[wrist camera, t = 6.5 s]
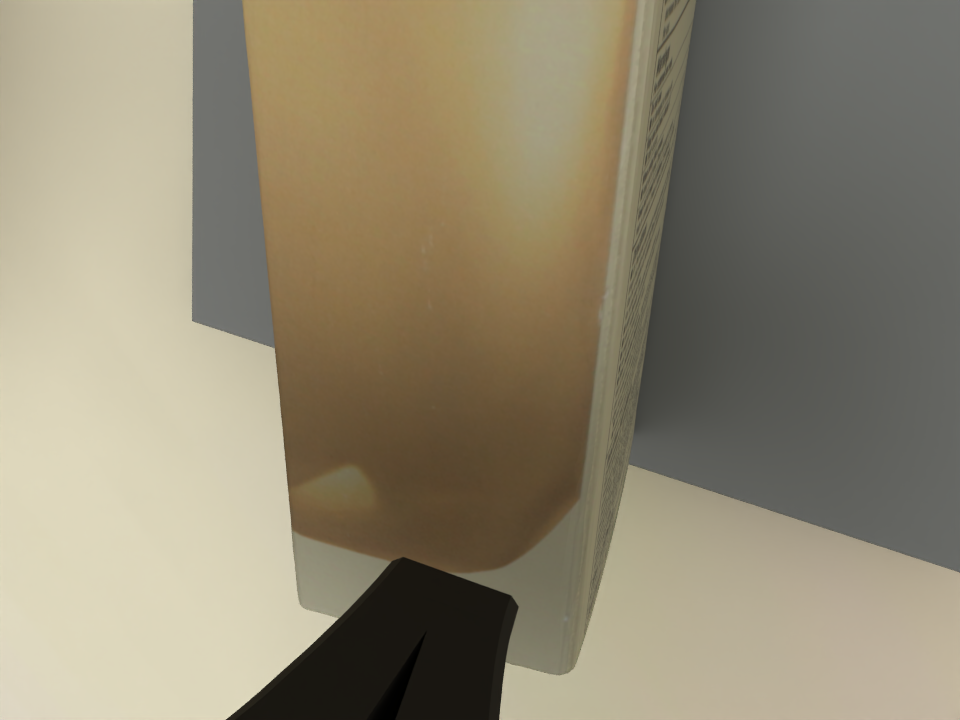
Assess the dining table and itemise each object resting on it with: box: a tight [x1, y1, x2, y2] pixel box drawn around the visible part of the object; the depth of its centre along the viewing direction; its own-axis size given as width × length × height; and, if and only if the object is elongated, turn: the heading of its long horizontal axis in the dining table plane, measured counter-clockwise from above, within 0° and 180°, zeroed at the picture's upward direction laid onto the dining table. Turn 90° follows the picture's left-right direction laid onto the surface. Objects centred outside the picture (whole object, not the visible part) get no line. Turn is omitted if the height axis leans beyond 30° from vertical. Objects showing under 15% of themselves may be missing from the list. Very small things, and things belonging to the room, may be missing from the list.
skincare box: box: [242, 0, 696, 675], centre depth 13 cm, size 6×4×12 cm
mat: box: [192, 0, 960, 572], centre depth 14 cm, size 16×16×1 cm
